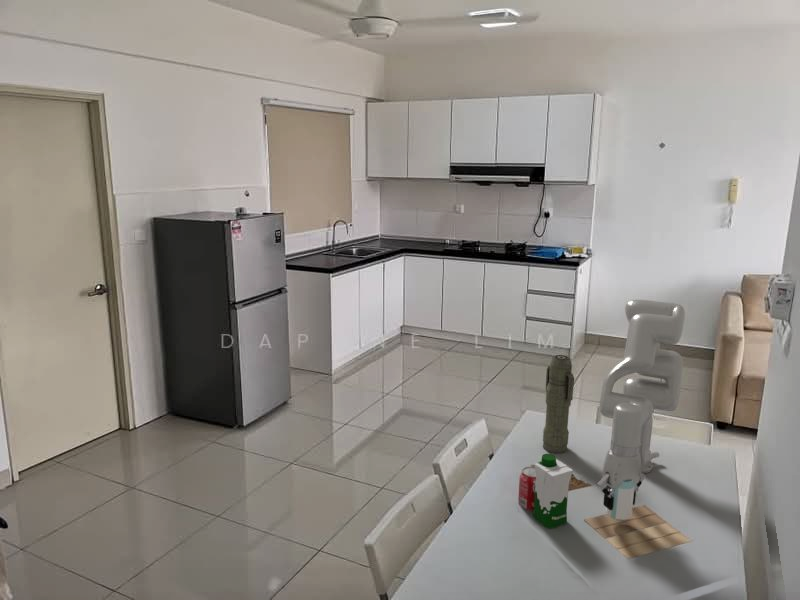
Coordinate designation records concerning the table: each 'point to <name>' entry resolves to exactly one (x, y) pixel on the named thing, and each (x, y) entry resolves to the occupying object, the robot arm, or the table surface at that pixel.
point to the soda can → (527, 488)
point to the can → (622, 501)
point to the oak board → (648, 540)
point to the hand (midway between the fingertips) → (619, 504)
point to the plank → (625, 522)
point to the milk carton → (551, 491)
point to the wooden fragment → (575, 483)
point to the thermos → (558, 404)
